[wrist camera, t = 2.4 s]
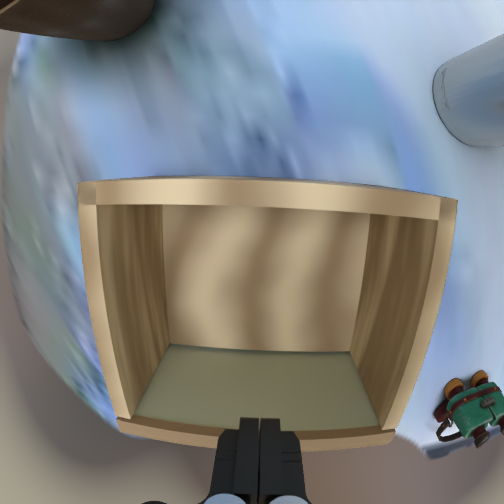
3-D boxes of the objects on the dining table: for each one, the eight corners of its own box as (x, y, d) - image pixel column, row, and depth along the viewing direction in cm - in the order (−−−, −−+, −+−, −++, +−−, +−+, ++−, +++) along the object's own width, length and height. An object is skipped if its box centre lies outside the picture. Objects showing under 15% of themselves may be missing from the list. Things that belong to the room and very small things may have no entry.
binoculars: (445, 480, 23) (478, 437, 20) (423, 424, 33) (443, 376, 30) (496, 457, 23) (530, 411, 19) (470, 409, 33) (493, 361, 29)
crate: (381, 186, 25) (457, 199, 13) (358, 345, 29) (396, 427, 17) (153, 176, 25) (77, 182, 14) (161, 336, 29) (115, 415, 18)
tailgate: (358, 349, 29) (395, 431, 17) (355, 360, 29) (389, 443, 18) (160, 340, 29) (116, 419, 18) (162, 352, 30) (120, 431, 18)
